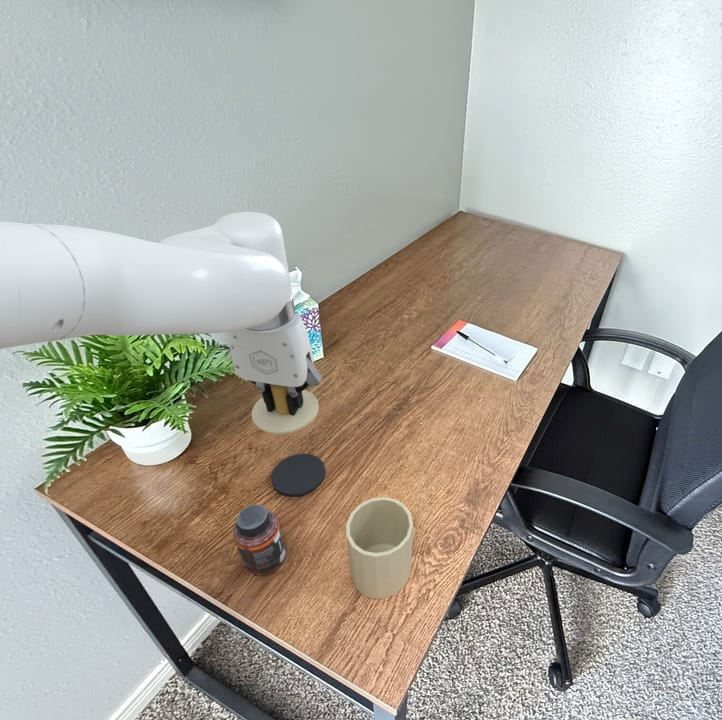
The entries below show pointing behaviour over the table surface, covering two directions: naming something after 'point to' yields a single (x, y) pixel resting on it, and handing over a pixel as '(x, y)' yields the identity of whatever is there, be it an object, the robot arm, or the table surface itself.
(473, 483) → the table surface
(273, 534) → the supplement bottle
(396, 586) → the tin
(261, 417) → the tin lid
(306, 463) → the mat
